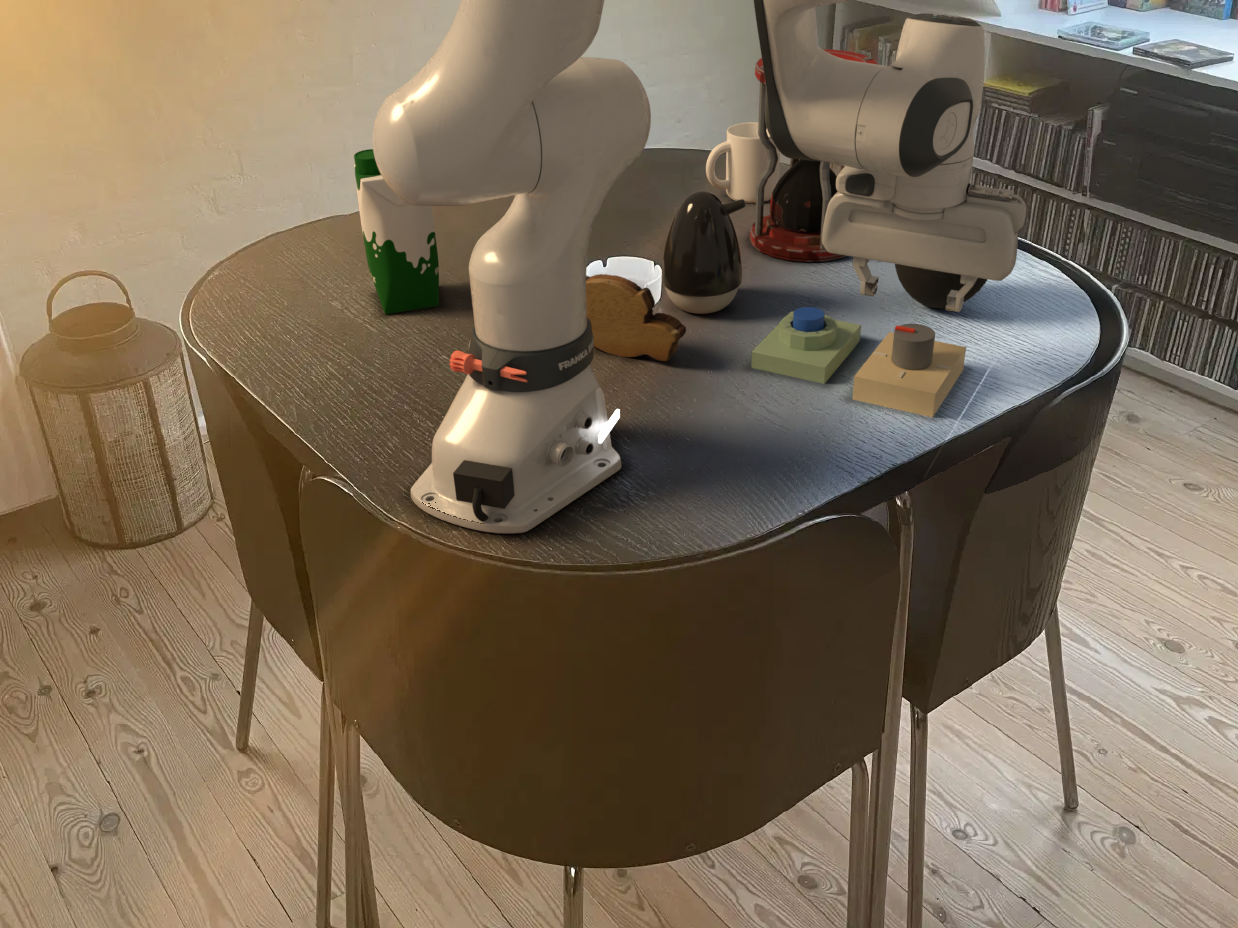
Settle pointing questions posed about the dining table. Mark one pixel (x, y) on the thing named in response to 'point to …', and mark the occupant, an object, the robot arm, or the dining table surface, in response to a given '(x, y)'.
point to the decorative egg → (933, 285)
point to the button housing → (806, 349)
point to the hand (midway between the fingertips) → (910, 301)
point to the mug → (743, 163)
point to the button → (808, 319)
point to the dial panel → (908, 379)
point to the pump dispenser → (702, 254)
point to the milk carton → (396, 242)
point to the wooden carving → (629, 319)
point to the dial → (913, 346)
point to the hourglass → (794, 195)
